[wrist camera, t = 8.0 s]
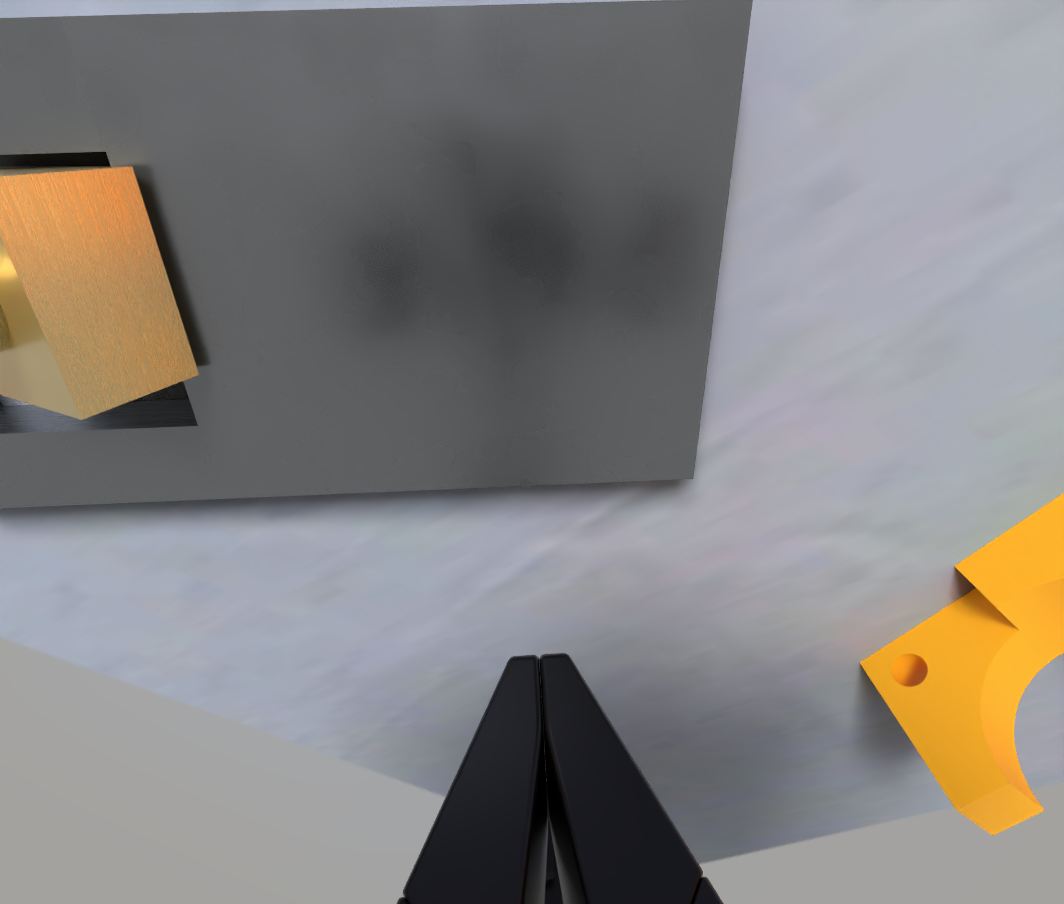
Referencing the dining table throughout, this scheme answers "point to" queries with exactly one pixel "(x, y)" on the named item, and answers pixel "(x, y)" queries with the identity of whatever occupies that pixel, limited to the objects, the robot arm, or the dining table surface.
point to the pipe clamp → (981, 669)
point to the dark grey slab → (397, 241)
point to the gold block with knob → (83, 292)
